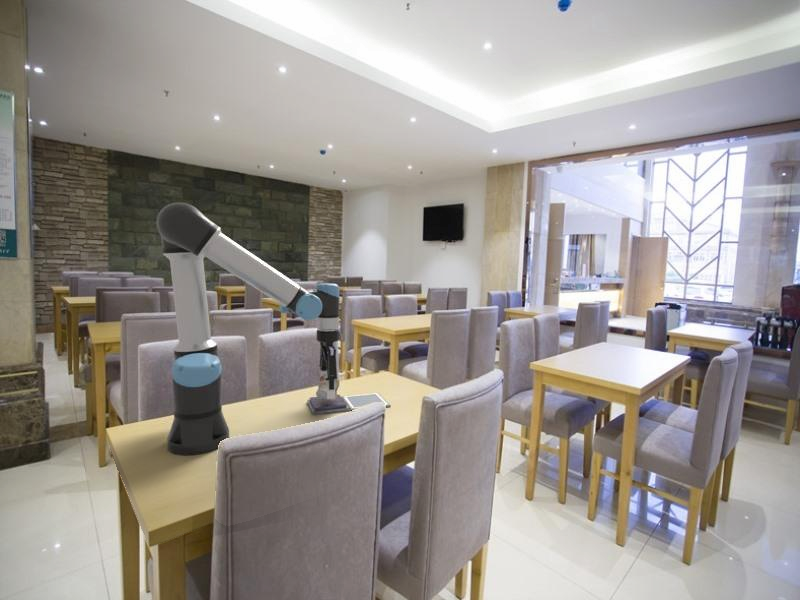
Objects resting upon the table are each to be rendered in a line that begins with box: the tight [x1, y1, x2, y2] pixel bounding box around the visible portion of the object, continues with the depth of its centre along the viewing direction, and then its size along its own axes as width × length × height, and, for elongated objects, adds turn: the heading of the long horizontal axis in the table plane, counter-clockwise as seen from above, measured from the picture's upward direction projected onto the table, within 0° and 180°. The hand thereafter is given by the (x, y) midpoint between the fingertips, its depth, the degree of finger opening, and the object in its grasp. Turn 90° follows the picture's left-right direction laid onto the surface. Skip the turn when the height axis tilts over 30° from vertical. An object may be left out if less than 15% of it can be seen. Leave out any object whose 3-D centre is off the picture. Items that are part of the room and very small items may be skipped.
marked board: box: [340, 392, 391, 411], centre depth 146 cm, size 14×14×1 cm
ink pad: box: [306, 394, 350, 415], centre depth 141 cm, size 12×12×2 cm
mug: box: [315, 374, 340, 401], centre depth 140 cm, size 8×10×10 cm
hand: (327, 393), depth 140 cm, fingers closed on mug, 10 cm apart
